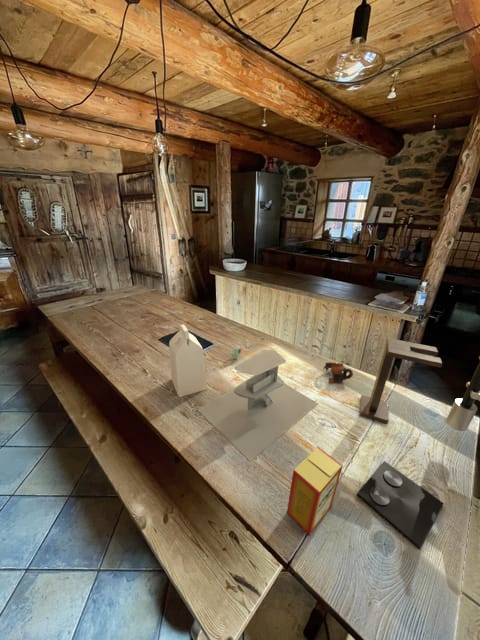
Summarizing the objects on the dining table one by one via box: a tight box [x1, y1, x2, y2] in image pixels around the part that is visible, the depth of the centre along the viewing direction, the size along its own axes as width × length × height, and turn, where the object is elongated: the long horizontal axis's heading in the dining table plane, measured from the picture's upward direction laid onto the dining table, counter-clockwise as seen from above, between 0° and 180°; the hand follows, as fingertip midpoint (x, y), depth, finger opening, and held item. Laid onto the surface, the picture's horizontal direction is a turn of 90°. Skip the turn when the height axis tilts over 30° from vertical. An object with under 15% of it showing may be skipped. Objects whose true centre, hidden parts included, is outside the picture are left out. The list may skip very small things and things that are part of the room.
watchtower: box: [196, 349, 319, 462], centre depth 94 cm, size 36×28×20 cm
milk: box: [168, 323, 208, 398], centre depth 103 cm, size 12×12×26 cm
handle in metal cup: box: [445, 356, 480, 432], centre depth 76 cm, size 5×7×23 cm
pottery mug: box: [322, 362, 354, 385], centre depth 113 cm, size 12×10×8 cm
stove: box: [356, 460, 444, 550], centre depth 68 cm, size 15×15×1 cm
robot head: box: [229, 345, 242, 360], centre depth 125 cm, size 8×4×7 cm, turn 154°
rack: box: [359, 337, 443, 425], centre depth 90 cm, size 17×10×28 cm, turn 65°
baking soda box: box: [286, 446, 343, 536], centre depth 63 cm, size 10×6×16 cm
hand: (468, 389), depth 76 cm, fingers closed on handle in metal cup, 2 cm apart
